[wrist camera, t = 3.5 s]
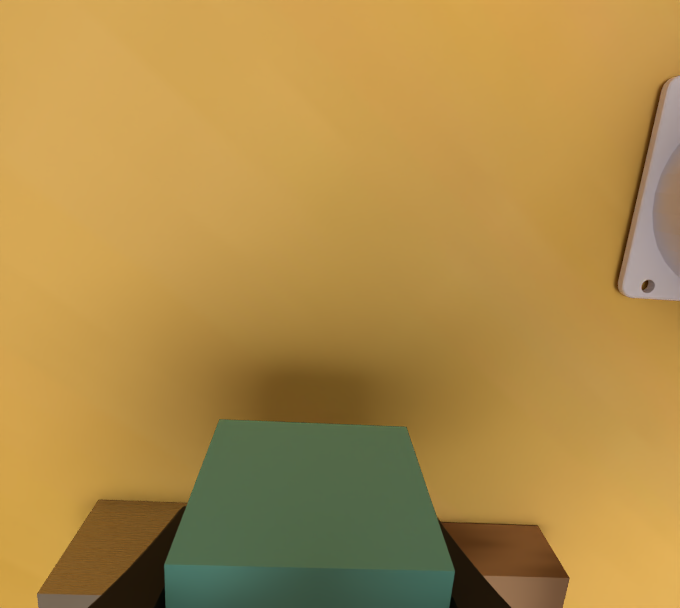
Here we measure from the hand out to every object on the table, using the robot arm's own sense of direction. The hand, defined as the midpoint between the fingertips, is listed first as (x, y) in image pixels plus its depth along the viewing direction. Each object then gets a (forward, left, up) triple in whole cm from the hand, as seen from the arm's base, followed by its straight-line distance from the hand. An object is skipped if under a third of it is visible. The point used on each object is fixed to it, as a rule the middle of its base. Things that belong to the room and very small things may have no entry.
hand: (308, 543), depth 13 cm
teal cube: (0, 0, -2) cm, 2 cm away
